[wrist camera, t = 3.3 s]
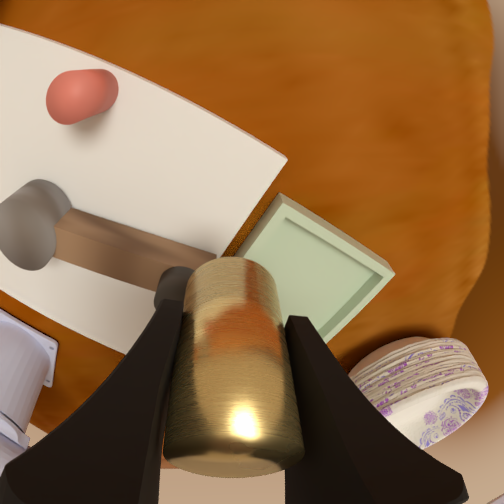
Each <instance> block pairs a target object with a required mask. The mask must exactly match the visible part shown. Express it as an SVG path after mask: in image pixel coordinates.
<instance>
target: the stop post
mask: <svg viewBox="0 0 504 504" xmlns="http://www.w3.org/2000/svg"><path fill="white" fill-rule="evenodd" d="M118 91H119V86H118V82H117V79H116V77H115V76H114V75H113V74H112V73H111V72H110V71H108V70H105V69H85V70H71V71H66V72H63V73H61V74H59V75H58V76H57V77H56V78H55V79H54V80H53V81H52V82H51V84H50V86H49V88H48V90H47V94H46V107H47V110H48V113H49V115H50V116H51V117H52V119H53V120H55V121H56V122H58V123H60V124H63V125H71V124H74V123H77V122H79V121H81V120H84V119H86V118H89V117H91V116H94V115H97V114H99V113H102V112H104V111H106V110H108V109H109V108H110V107H111V106H112V105H113V104H114V103H115V101H116V99H117V96H118Z"/></svg>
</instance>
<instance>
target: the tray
mask: <svg viewBox="0 0 504 504" xmlns="http://www.w3.org/2000/svg"><path fill="white" fill-rule="evenodd" d="M233 257H240V258H245V259H249V260H252V261H254V262H256V263H258V264H260V265H261V266H263V267H264V268H265V269H266V270H268V271H269V273H270V274H271V275H272V277H273V278H274V280H275V283H276V287H277V292H278V298H279V303H280V309H281V314H282V320H283V326H284V327H285V324H286V322H287V319H288V317H289V315H296V316H306V317H308V318H309V320H310V321H311V323H312V324H313V326H314V327H315V329H316V330H317V332H318V333H319V335H320V336H321V338H322V339H323V341H324V342H325V343H327V342H328V341H329V340H330V339H331V338H333V337H334V336H335V335H336V334H337V333H338V332H339V331H340V330H341V329H342V328H343V327H344V326H345V325H346V324H347V323H348V322H349V321H350V320H351V319H352V318H353V317H355V316H356V315H357V314H358V313H359V312H360V311H361V310H362V309H363V308H364V307H365V306H366V305H367V304H368V303H369V302H370V300H371V299H372V298H373V297H374V296H375V295H376V294H377V293H378V292H379V291H380V290H381V289H382V288H383V287H384V286H385V285H386V284H387V283H388V282H389V281H390V280H391V278H392V277H393V276H394V275H395V273H394V271H393V270H392V268H391V267H390V265H389V264H388V262H387V261H386V260H384V259H383V258H381V257H380V256H378V255H377V254H375V253H374V252H372V251H371V250H369V249H368V248H366V247H365V246H363V245H362V244H360V243H359V242H357V241H356V240H354V239H353V238H351V237H350V236H348V235H347V234H345V233H344V232H342V231H341V230H339V229H338V228H336V227H335V226H333V225H331V224H330V223H328V222H327V221H325V220H324V219H322V218H321V217H319V216H317V215H316V214H314V213H313V212H311V211H309V210H308V209H306V208H305V207H303V206H301V205H300V204H298V203H296V202H295V201H293V200H292V199H290V198H288V197H287V196H285V195H283V194H282V193H280V192H279V193H278V194H277V196H276V197H275V199H274V200H273V201H272V203H271V204H270V206H269V207H268V208H267V210H266V211H265V213H264V214H263V215H262V217H261V218H260V220H259V221H258V222H257V224H256V225H255V227H254V228H253V229H252V231H251V232H250V234H249V235H248V236H247V238H246V239H245V241H244V242H243V244H242V245H241V246H240V248H239V249H238V251H237V252H236V253H235V255H234V256H233Z"/></svg>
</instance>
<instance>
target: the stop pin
mask: <svg viewBox="0 0 504 504" xmlns="http://www.w3.org/2000/svg"><path fill="white" fill-rule="evenodd" d="M304 454H305V451H304V444H303V438H302V432H301V426H300V420H299V413H298V407H297V401H296V395H295V389H294V383H293V377H292V372H291V366H290V360H289V354H288V348H287V343H286V337H285V331H284V326H283V320H282V314H281V309H280V303H279V298H278V292H277V287H276V283H275V280H274V278H273V277H272V275H271V274H270V273H269V271H268V270H266V269H265V268H264V267H263V266H261V265H260V264H258V263H256V262H254V261H252V260H249V259H245V258H240V257H222V258H217V259H214V260H211V261H209V262H206V263H205V264H203V265H201V266H200V267H199V268H197V269H196V270H195V271H194V272H193V274H192V275H191V277H190V278H189V280H188V283H187V287H186V292H185V298H184V307H183V316H182V322H181V328H180V335H179V340H178V344H177V349H176V354H175V359H174V366H173V373H172V380H171V388H170V395H169V403H168V411H167V419H166V428H165V437H164V447H163V455H164V457H165V459H166V460H167V461H168V462H169V463H171V464H172V465H174V466H176V467H178V468H180V469H183V470H185V471H188V472H191V473H195V474H200V475H205V476H211V477H221V478H245V477H255V476H262V475H267V474H272V473H275V472H279V471H282V470H284V469H287V468H289V467H291V466H293V465H295V464H296V463H298V462H299V461H300V460H301V459H302V458H303V457H304Z"/></svg>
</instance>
